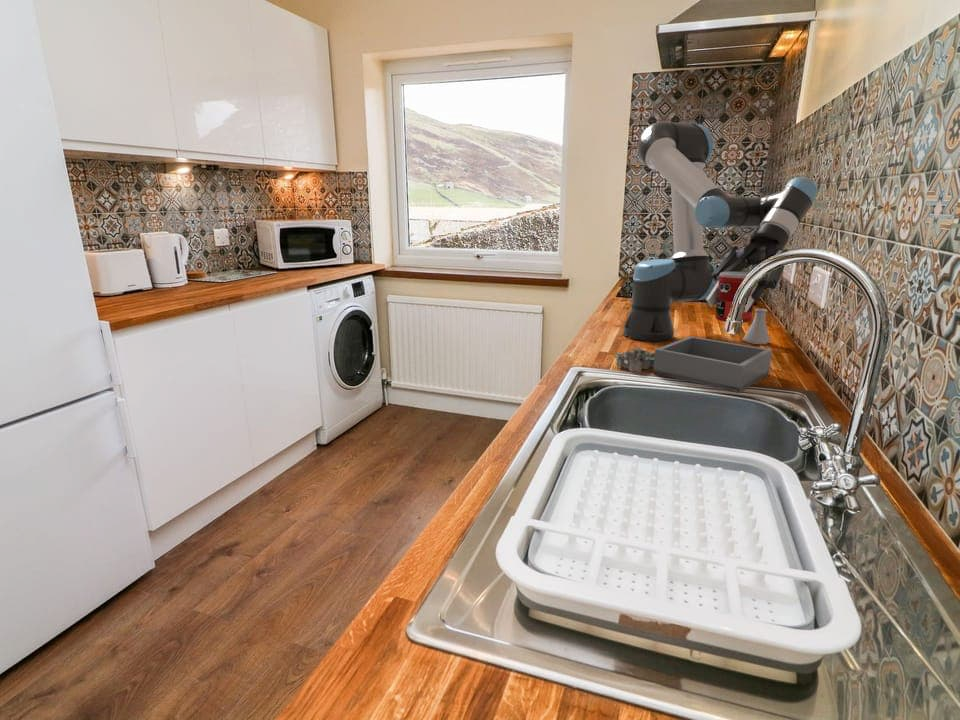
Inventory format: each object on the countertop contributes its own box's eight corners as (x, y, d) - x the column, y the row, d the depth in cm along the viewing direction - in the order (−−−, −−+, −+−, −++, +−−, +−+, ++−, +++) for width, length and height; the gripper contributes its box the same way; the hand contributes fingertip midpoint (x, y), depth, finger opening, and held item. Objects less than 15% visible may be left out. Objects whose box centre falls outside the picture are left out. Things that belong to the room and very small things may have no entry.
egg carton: (634, 374, 131) (636, 357, 130) (610, 366, 137) (611, 351, 136) (662, 366, 137) (663, 351, 136) (637, 360, 143) (639, 345, 142)
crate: (687, 358, 144) (690, 336, 143) (768, 373, 131) (772, 349, 130) (652, 373, 130) (655, 349, 129) (739, 392, 117) (743, 366, 116)
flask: (754, 345, 159) (759, 312, 156) (737, 340, 166) (742, 307, 163) (775, 344, 160) (780, 311, 158) (757, 339, 167) (762, 307, 164)
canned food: (716, 315, 135) (721, 270, 132) (751, 318, 131) (757, 272, 128) (713, 321, 128) (718, 274, 125) (750, 324, 125) (756, 276, 122)
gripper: (822, 246, 125) (774, 323, 121) (738, 241, 141) (693, 309, 137) (814, 222, 120) (763, 301, 116) (728, 221, 137) (681, 290, 133)
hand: (725, 305), depth 127 cm, fingers closed on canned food, 8 cm apart
